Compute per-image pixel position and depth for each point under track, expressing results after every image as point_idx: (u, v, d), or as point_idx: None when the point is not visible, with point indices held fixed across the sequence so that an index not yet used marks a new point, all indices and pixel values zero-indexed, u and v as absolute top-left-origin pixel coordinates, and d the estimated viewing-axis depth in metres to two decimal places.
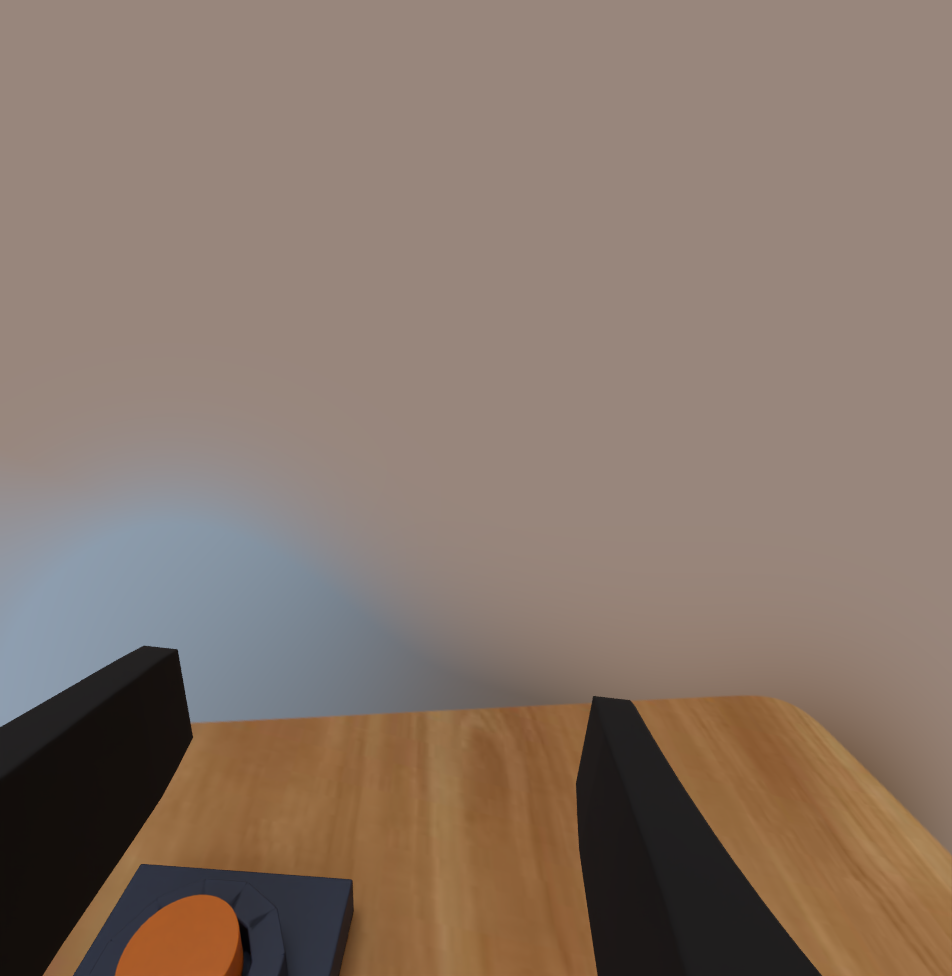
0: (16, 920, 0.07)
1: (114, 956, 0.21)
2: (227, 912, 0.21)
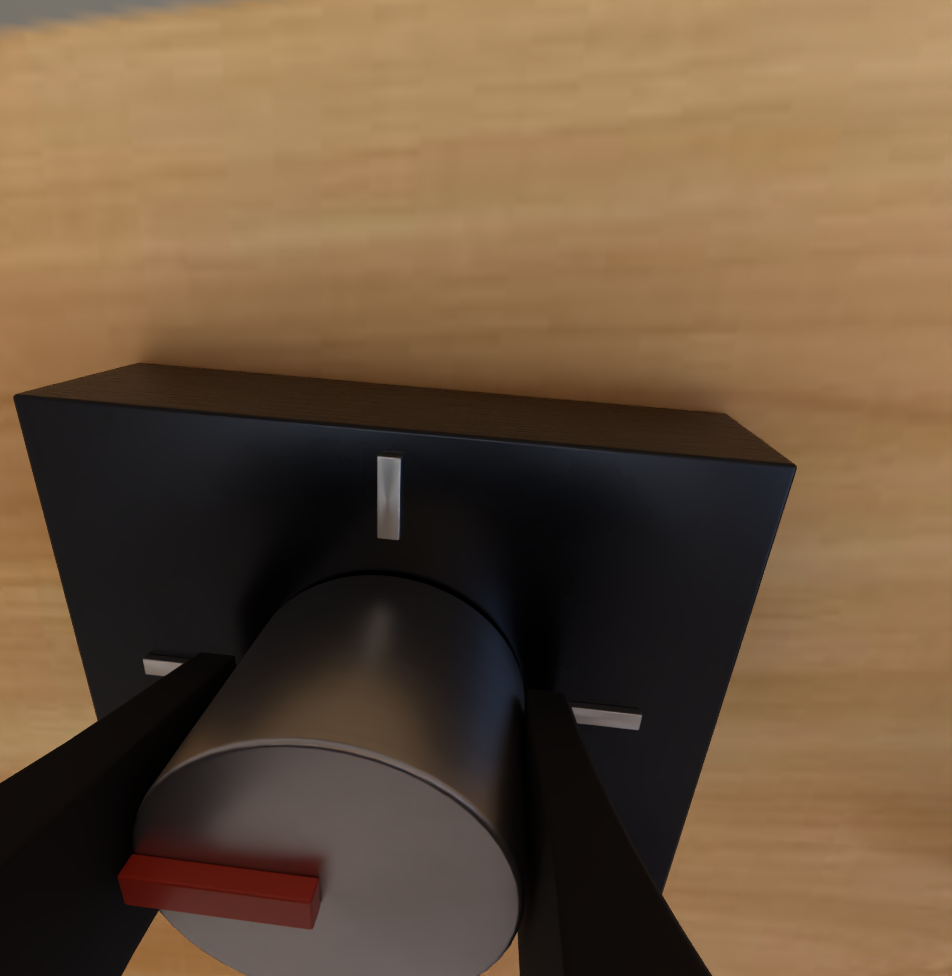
0: (95, 931, 0.07)
1: None
2: None
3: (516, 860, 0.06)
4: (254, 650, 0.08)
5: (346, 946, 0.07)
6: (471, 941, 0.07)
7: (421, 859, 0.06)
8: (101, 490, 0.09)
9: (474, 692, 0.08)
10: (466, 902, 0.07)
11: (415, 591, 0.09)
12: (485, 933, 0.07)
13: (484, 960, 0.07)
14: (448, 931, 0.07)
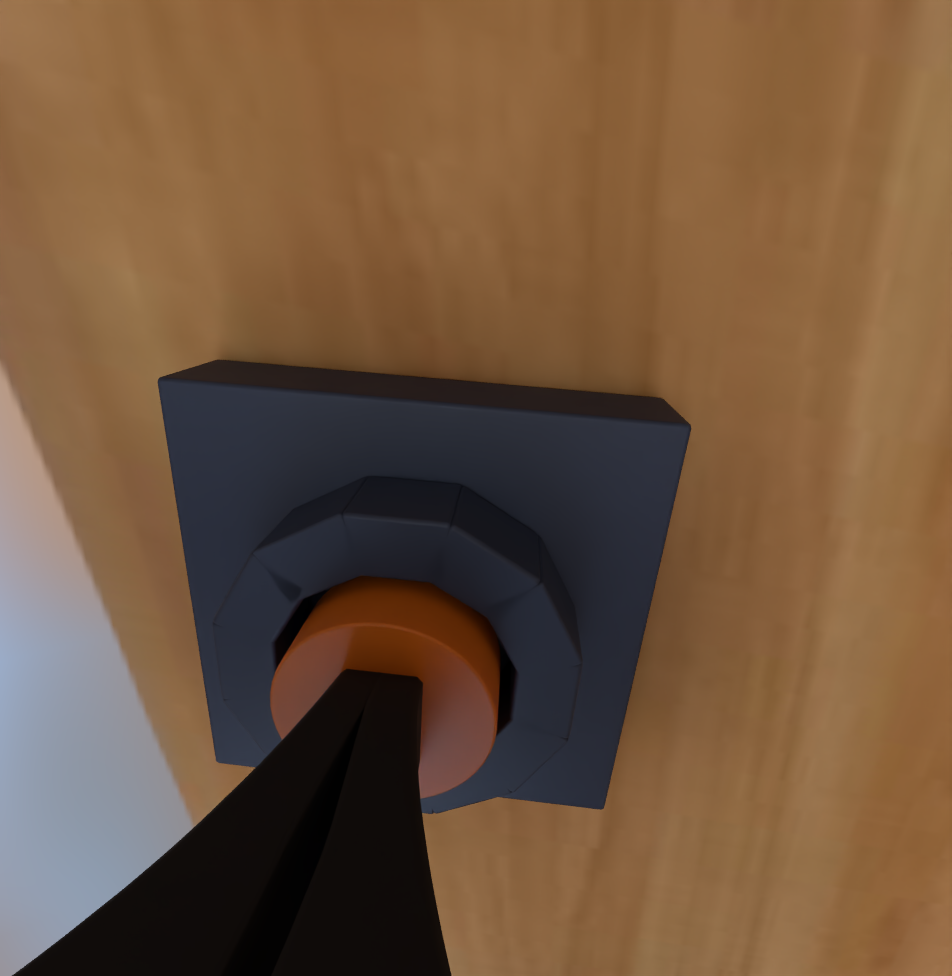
0: None
1: (242, 650, 0.10)
2: (449, 662, 0.09)
3: None
4: None
5: None
6: None
7: None
8: None
9: None
10: None
11: None
12: None
13: None
14: None
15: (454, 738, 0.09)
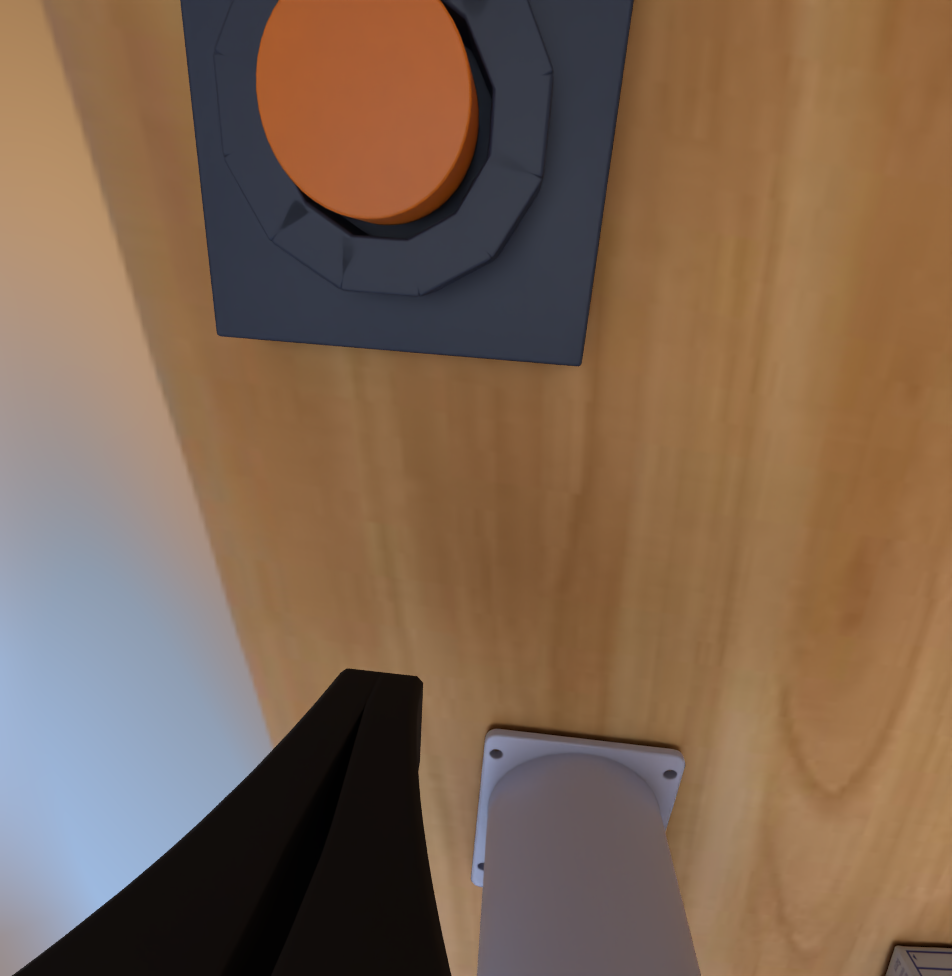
0: None
1: (241, 83, 0.11)
2: (425, 2, 0.09)
3: None
4: None
5: None
6: None
7: None
8: None
9: None
10: None
11: None
12: None
13: None
14: None
15: (431, 116, 0.10)
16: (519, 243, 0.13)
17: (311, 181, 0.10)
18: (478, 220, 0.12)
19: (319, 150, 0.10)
